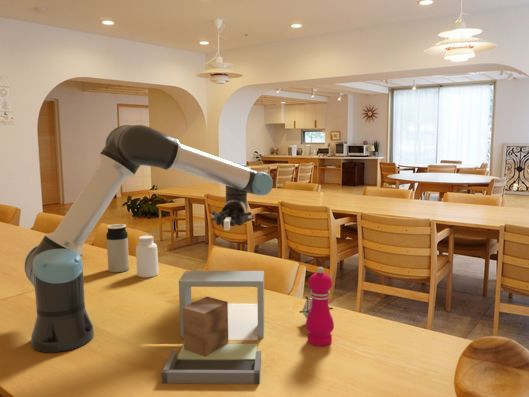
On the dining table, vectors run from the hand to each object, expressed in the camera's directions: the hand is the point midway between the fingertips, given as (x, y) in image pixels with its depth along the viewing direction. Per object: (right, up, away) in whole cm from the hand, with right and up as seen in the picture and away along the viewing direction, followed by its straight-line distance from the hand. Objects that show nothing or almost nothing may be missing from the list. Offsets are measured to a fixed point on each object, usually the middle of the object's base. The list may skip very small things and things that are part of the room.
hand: (226, 225), depth 132 cm
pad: (-1, -30, -14) cm, 34 cm away
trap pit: (-1, -32, -25) cm, 41 cm away
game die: (+26, -28, +1) cm, 38 cm away
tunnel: (0, -28, +2) cm, 28 cm away
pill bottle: (-34, -22, +47) cm, 62 cm away
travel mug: (-47, -21, +54) cm, 75 cm away
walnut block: (-4, -30, -14) cm, 33 cm away
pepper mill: (+25, -30, -10) cm, 40 cm away
